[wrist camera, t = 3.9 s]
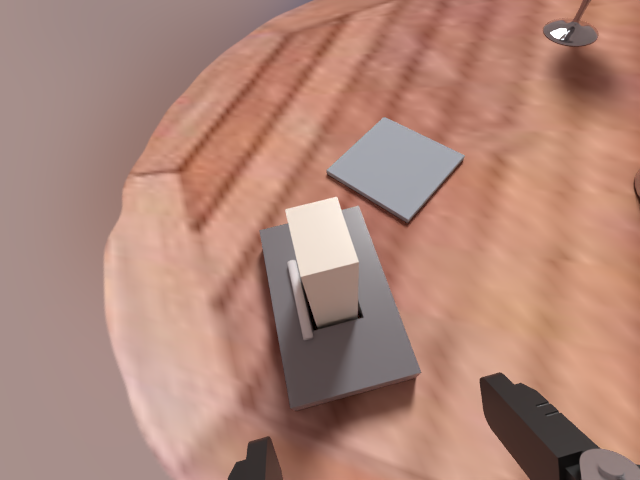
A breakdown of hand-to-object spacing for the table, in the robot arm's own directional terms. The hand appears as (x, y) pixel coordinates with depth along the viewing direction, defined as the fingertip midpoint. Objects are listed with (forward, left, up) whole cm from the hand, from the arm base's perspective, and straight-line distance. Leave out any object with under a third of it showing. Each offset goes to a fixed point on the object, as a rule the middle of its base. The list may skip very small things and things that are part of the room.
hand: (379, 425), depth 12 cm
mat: (+14, -23, -15) cm, 31 cm away
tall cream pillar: (+9, -6, -15) cm, 19 cm away
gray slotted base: (+9, -6, -15) cm, 19 cm away
